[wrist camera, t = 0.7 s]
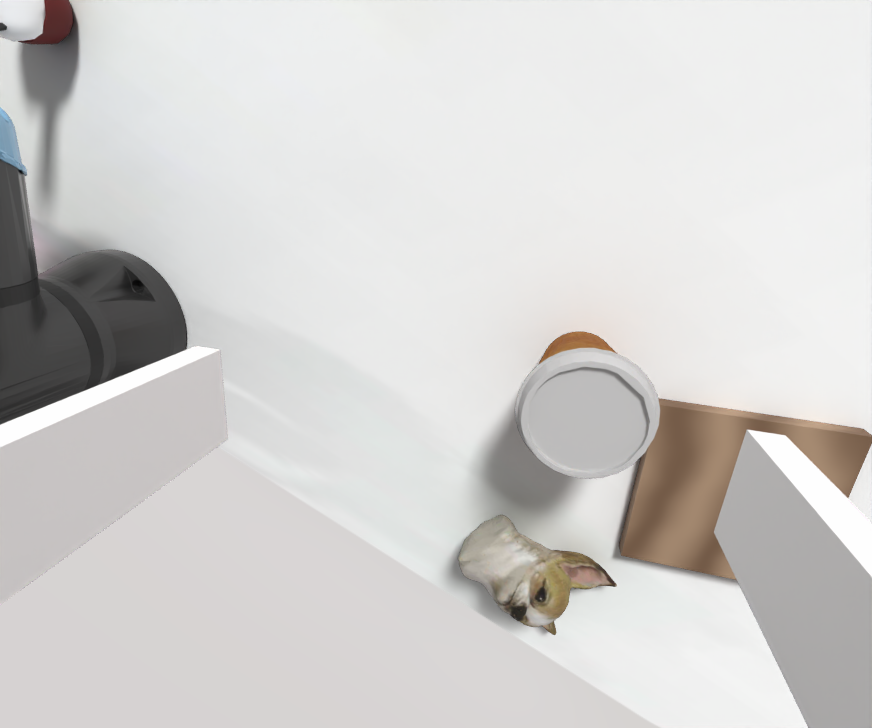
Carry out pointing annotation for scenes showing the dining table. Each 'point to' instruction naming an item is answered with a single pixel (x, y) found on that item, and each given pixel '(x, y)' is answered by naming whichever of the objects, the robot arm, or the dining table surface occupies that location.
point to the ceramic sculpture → (526, 572)
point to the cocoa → (35, 20)
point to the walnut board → (715, 478)
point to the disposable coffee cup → (587, 408)
